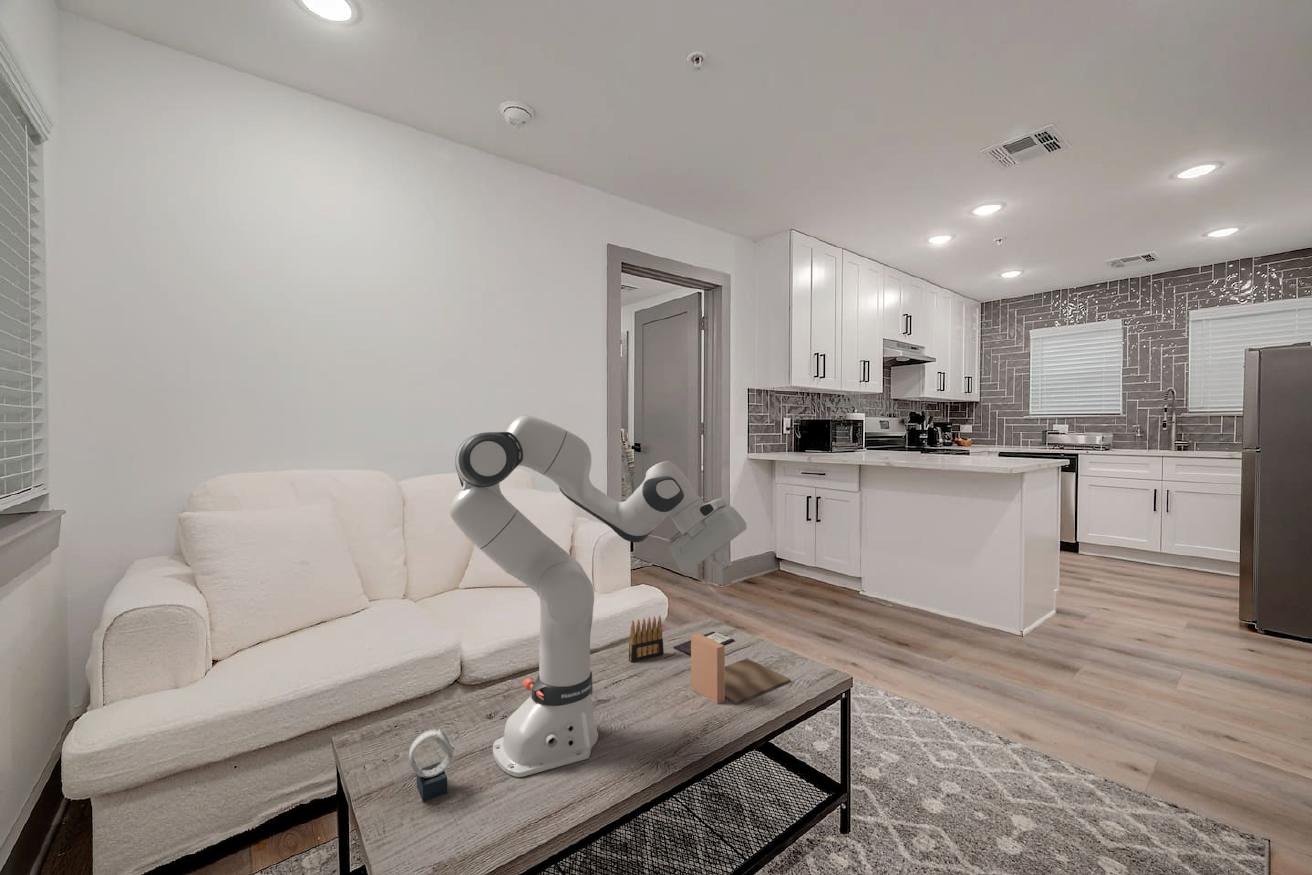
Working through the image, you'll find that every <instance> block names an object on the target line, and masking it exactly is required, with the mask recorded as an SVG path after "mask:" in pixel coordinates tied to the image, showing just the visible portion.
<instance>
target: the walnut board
mask: <svg viewBox="0 0 1312 875" xmlns="http://www.w3.org/2000/svg"><path fill="white" fill-rule="evenodd" d="M790 682H791V678H789V677H786V676H785V675H782V674H781V673H779V672H776V671H774V670H772V669H770V668H768V667H767V666H764V665H761V664H760V663H758V662H755V661H754V660H751V659H750V658H744V659H742V660H738V661H736V662H734V663H731V664H727V665H725V699H727V700H728V701H730V702H731V703H733V704H735V705H738V704H741V703H743V702H745V701H747V700H749V699H752V698H755V697H758V696H759V695H762V694H764V693H767V692H769V691H771V690H773V689H776V688H778V687H780V686H783V685H785V684H788V683H790Z"/></svg>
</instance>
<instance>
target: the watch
mask: <svg viewBox="0 0 1312 875" xmlns="http://www.w3.org/2000/svg"><path fill="white" fill-rule="evenodd" d="M431 738H435V741H436V742H437V744H438V745H439V746H440V748H441V749H442V751H444V753H445V754H446V755H445V757H444V759H443V760H442V761H441V762H436V763H433V764H431V765H428V766H424V767H421V766H420V765H419V764H417V762H416V761H415V758H414V754H415V751H416V750H417V748H418V747H419V746H420V745H421V744H423V742H425V741H426V740H429V739H431ZM453 752H455V747H454V745H453V744H452V742H451V741H450V738H448V736H447V735H446V733H444V732H443V730H442V729H441V728H439V729H438V730H437V729H435V728H434V729H429V730H426V731H424V732H422V733H420V734H419V735H418V736H416V738H415V739H414V740H413V741H412V743H411V745H410V747H409V750H408V761H409V763H410V766H411V768H412V770H413V771H414V773H415V774H416V775H415V776H416V788H417V790H418V793H419V796H420V798H421V800H422V801H421V802H422V803H425V802H428V801H429V802H430V801H431V800H434V799H437V798H439V797H442V796H444V795H447V794H448V775H447V774H446V772H445V771H446V769H447V768H449V765H450V764H451V762H452V760H453V758H454V753H453Z"/></svg>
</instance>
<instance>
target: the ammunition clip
mask: <svg viewBox="0 0 1312 875" xmlns="http://www.w3.org/2000/svg"><path fill="white" fill-rule="evenodd" d="M656 618H657V619H656ZM651 620H652V622H651ZM646 621H647V622H646ZM662 626H663V625H662V617H661V615H660V614H659V615H658V617H656V616H655V615H654V616H653V618H652V619H651V618H650V616H649V617H648V618H647V620H646V619H645V618H644V617H643V618H642V622H641V623H640V619H639V618H638V619H637V620H636V625H635V620H631V622H630V634H629V643H628V644H629V645H628V646H629V648H628V650H629V651H628V661H629V663H631V664H632V663H637V662H641V661H646V660H648V659H649V660H650V659H654V658H659V657H663V656H664V639H663V627H662ZM635 628H636V629H635Z"/></svg>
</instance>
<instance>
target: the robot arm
mask: <svg viewBox="0 0 1312 875" xmlns="http://www.w3.org/2000/svg"><path fill="white" fill-rule="evenodd" d="M454 460H455V461H454V464H455V470H456V473H457V476H458V479H459V482H460V485H461V489H460V490H459V492H458V493H456V495H455V496H454V497H453V500H452V502H451V504H450V507H449V514H450V515H449V516H450V518H451V519H452V520H453V522H454V523H455V525H456V526H457V527H458V529H460V531H461V532H462V533H463V534H464V536H465V537H467V538H468V540H469V541H471V542H472V544H473V545H475V547H477V548H478V549H479V550H480V551H481V552H483V554H484V555H486V556H487V557H488V558H489V559H490V560H491V561H492V562H493V563H494V564H496V565H497V566H499V568H501V569H502V570H503V571H504V572H505V573H506V574H507V575H510V576H512V577H513V578H514V579H516V580H518V581H520V582H521V583H523V584H524V585H526V586H527V587H528V588H530V589H531V590H533V592H534V593H535V594H536V595H537V596H538V598H539V602H540V626H539V638H538V654H539V655H538V665H539V666H538V668H539V669H538V672H539V674H538V675H537V678H536V680H535V682H534V681H533V680H532V679H531V678H525V679H524V681H523V682H522V685H523V686H522V687H524V689H526V691H529V692H530V691H531V695H530V696H529V697H528V698H527V699H526V700H525V701H524V702H523V703H522V704H521V705H520V706H519V707H518V708H517V709H516V710H515V711H514V712H513V713H512V714H511V715H510V716H509V717H508V718H507V719H506V722H505V726H504V731H503V736H502V737H499V738H498V739H496V740H494V742H493V745H492V756H493V759H494V761H495V763H496V765H498V766H499V768H500V770H502V771H503V772H504V773H506V774H508V775H510V776H512V777H516V778H523V777H526V776H530V775H533V774H538V773H541V772H545V771H548V770H551V769H555V768H559V767H562V766H566V765H570V764H573V763H577V762H581V761H584V760H587V759H589V758H590V756H591V753H592V749H593V747H594V746H595V744H596V743H597V742H598V739H599V732H598V729H597V725H596V721H595V717H594V711H593V709H594V708H593V702H592V695H593V688H594V687H593V671H592V670H591V634H592V633H591V632H592V626H593V625H592V624H593V618H594V616H593V615H594V606H595V591H594V590H595V589H594V585H593V583H592V582H591V580H590V578H589V577H588V574H587V573H586V571H585V570H584V569H583V566H582V565H581V564H580V562H578V561H577V560H576V559H575V557H573V556H572V555H571V554H569V553H568V552H567V551H566V550H564V548H562V547H561V546H560V545H559V544H557V542H555V541H554V540H553V539H551V538H550V537H549V536H547V534H545V533H544V532H543V531H542V530H541V529H539V527H538V526H536V524H534V523H533V522H532V521H531V520H530V519H528V518H527V516H525V515H524V514H523V513H522V512H521V511H520V510H519V509H517V508H516V507H515V506H514V505H513V503H511V502H510V501H509V500H508V499H507V498H506V496H504V495H503V493H502V491H501V488H500V484H501V483H502V481H504V480H506V479H507V477H509V476H510V475H511V474H512V473H513V471H515V469H517V467H518V466H519V467H520V466H521V467H525V468H528V469H531V470H533V471H535V472H537V473H539V474H541V475H542V476H545V477H547V478H548V479H550V480H551V481H553V482H554V483H555V484H556V485H557V486H558V489H559V491H560V492H561V493H562V495H563V496H564V497H565V498H566V499H567V500H569V501H570V502H571V503H573V504H574V505H576V506H578V507H579V508H581V509H583V510H584V511H585V512H586V513H588V514H590V515H591V516H593V517H594V518H596V519H598V520H599V521H601V522H602V523H604V524H605V525H607V526H608V527H609V528H610V529H611V530H613V532H615V533H616V534H617V535H618V537H620V538H622V539H623V540H624V541H628V542H631V543H640V542H643V541H645V540H646V539H647V538H648V537H649V535H651V533H652V532H653V530H655V529H656V528H657V527H658V526H659V525H660V524H661V523H662V522H663V521H664V520H665V519H666V518H667V517H668V516H670V519H671V521H673V524H675V526H676V528H677V530H678V532H676V533H675V534H674V535H673V536H671V537H670V538H669V539H668V542H667V550H669V553H670V554H671V555H672V557H673V559H674V561H675V563H676V564H677V566H678V568H679V570H680V571H681V572H682V573H685V574H687V573H689V572H690V571H692V570H693V569H695V568H697V566H698V565H700V564H701V563H703V562H704V561H706V560H707V561H708V563H710V564H712V565H714V566H716V567H717V569H719V571H720V572H724V571H726V570H727V569H728V568H730V567H731V566H733V562H732V560H731V558H730V556H729V548H728V546H726V545H728V544H729V542H732V540H733V539H735V538H737V537H738V536H739V535H740V534H742V533H744V532H745V531H746V530H747V529H748V527H747V522H746V521H745V519H744V518H743V516H742V515H741V514H740V513H739V512H738V511H737V509H735V508H734V507H733V506H731V505H728V501H727V500H726V499H725V498H724V497H719V498H716V499H714V500H713V499H712V500H708V501H706V502H704V501H703V499H702V498H701V497H700V496H699V495H698V494H697V493H696V492H695V490H694V488H693V485H692V484H691V482H690V480H689V479H688V478H687V477H686V475H685V474H684V473H683V472H682V471H681V469H680V468H679V466H677V465H676V464H675V463H673V462H671V461H670V460H662V461H660V462H657V463H656V464H653V465H652V466H651V467H649V468H648V469H647V471H646V472H645V478H644V480H643V481H642V483H641V484H640V485H639V486H638V487H636V489H635V490H634V491H633V493H632V494H631V495H630V496H629V497H628V498H627V499H626V500H624V501H617V500H615V499H613V498H612V497H610V496H608V494H606V493H604V492H603V491H601V490H600V489H598V488H597V487H595V485H593V484H592V482H591V480H590V472H591V468H592V453H591V450H590V448H589V446H588V444H587V442H585V441H584V439H582V438H580V436H578V435H576V434H574V433H572V432H570V431H568V430H567V429H565V428H562V427H560V426H558V425H556V424H554V423H551V422H549V421H546V420H545V419H544V420H543V419H541V418H538V417H536V416H535V417H534V416H531V415H521V416H519V417H517V418H515V419H514V420H513V421H512V422H511V423H510V425H508V427H507V429H506V431H490V432H489V431H485V432H480V433H477V434H473V435H471V436H469V437H467V438H466V439H464V440H463V441H462V442H461V443H460V444H459V446H458V448H457V450H456V454H455V458H454ZM717 551H718V553H719V554H722V559H723V561H720V560H718V559H717V556H716V554H715V553H716V552H717Z"/></svg>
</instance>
